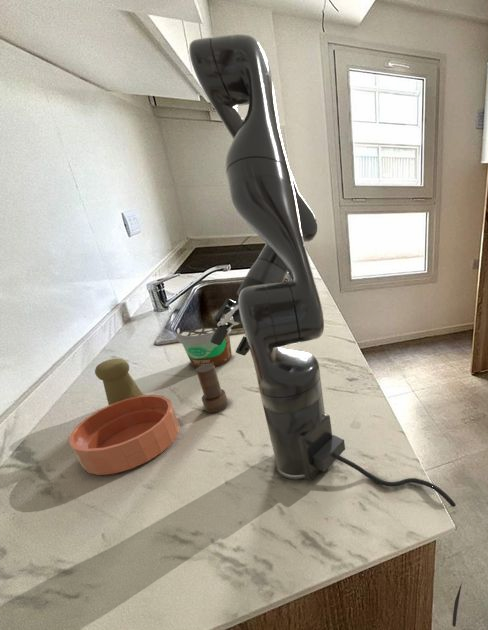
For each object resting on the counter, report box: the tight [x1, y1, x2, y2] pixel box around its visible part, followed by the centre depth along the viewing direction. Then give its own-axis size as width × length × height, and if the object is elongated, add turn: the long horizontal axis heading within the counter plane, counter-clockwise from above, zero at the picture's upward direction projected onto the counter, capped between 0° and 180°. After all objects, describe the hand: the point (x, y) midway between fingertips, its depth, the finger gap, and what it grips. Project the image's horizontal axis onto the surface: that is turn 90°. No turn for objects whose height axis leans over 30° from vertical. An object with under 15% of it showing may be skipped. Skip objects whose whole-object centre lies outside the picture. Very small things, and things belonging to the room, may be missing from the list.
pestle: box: [195, 364, 229, 414], centre depth 70 cm, size 4×4×10 cm
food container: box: [176, 327, 233, 369], centre depth 84 cm, size 12×6×10 cm, turn 105°
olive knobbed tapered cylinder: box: [94, 357, 144, 405], centre depth 70 cm, size 6×6×11 cm
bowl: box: [68, 394, 181, 476], centre depth 61 cm, size 14×14×6 cm
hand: (227, 349), depth 71 cm, fingers open, 8 cm apart
